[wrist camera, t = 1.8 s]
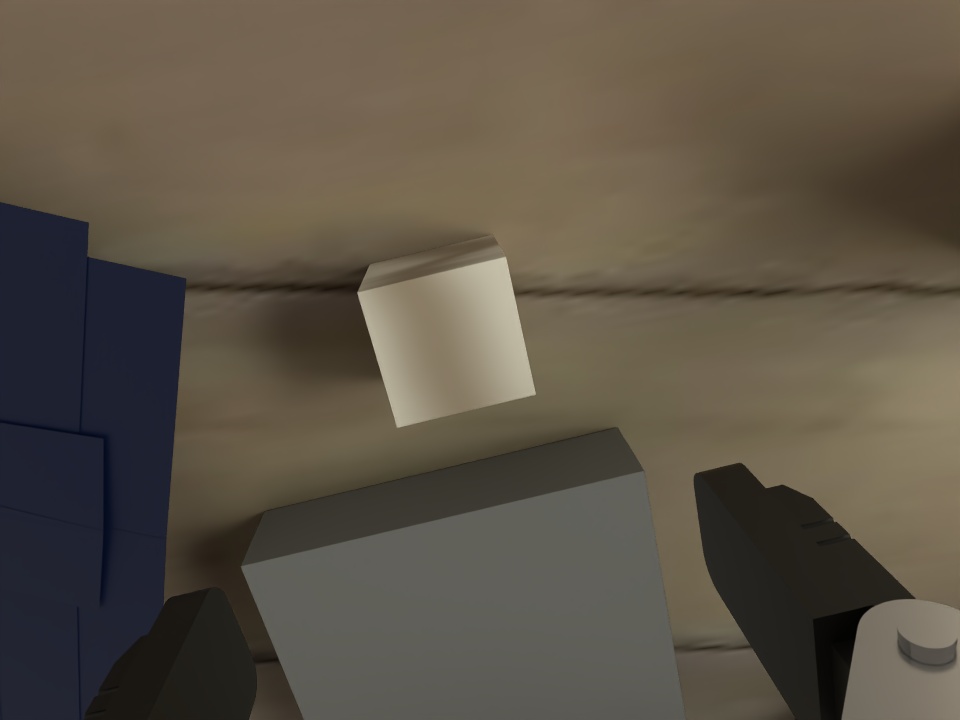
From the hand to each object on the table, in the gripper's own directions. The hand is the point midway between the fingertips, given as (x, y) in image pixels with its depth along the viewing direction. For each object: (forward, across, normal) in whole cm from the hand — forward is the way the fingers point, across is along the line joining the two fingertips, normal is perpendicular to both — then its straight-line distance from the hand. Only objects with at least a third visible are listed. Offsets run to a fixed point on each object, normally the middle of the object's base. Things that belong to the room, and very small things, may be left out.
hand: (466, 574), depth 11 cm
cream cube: (+18, 0, 0) cm, 18 cm away
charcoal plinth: (+17, +2, +15) cm, 23 cm away
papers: (+18, +26, -1) cm, 31 cm away
